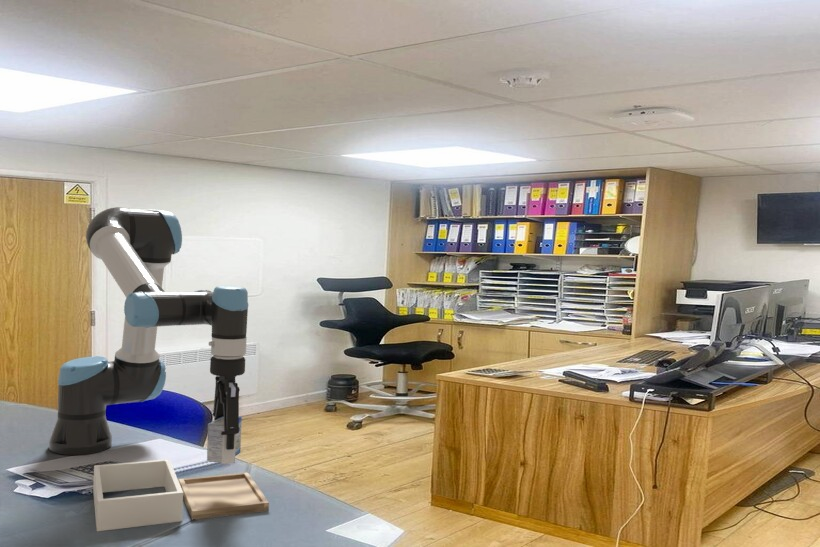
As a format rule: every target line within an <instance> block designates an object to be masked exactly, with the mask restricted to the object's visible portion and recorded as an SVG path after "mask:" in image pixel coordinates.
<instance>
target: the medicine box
mask: <svg viewBox="0 0 820 547" xmlns="http://www.w3.org/2000/svg"><path fill="white" fill-rule="evenodd" d="M242 421H243V420H242V416H241V415H240V416H239V433H237V434H236V450H235V457H236V456H238V455H239V454H241V444H242V443H241V441H242ZM232 428H233V427H232ZM221 432H224V416H222V417H220V418H218V419H216V420H214V419H213V420H212V421H211V422H209V423H208V424H207V444H206V445H207V448H206V450H207V451H206V462H211V463H218V464H219V463H220V464H222V443H223V435H221Z"/></svg>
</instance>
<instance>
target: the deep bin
mask: <svg viewBox="0 0 820 547" xmlns="http://www.w3.org/2000/svg"><path fill="white" fill-rule="evenodd" d="M92 487H93V488H92V489H93V490H92V491H93V503H94V504H93V505H94V513H95V514H94V516H95V526H96V527H95V528H96V532H103V531H111V530H120V529H129V528H137V527H145V526H152V525H153V526H154V525H160V524H161V525H162V524H163V525H164V524H168V523H169V524H171V523H177V522H178V523H179V522H182V521H183V508H184V506H183V504H184V499H183V491H182V488H181V486H180V484H179V478H178V477H177V475H176V472H175V469H174V467H173V464H172V462H171V460H170V458H168V459H167V458H165V459H156V460H145V461H142V460H141V461H132V462H122V463H121V462H120V463H107V464H98V465H93V486H92ZM160 487H161V488H162V487H164V489H165V492H158V493H147V494H140V495H128V496H119V497H118V496H117V497H110V498H104V494H103V493H111V492H122V491H131V490H133V491H134V490H143V489H152V488H160Z"/></svg>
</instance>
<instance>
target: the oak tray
mask: <svg viewBox="0 0 820 547" xmlns="http://www.w3.org/2000/svg"><path fill="white" fill-rule="evenodd" d="M178 481H179V484H180V486H181V488H182V491H183V502H184V504H185V505H186V509H187V508H188V509H187V511H188V514H189V513H190V514H189V516H190V518H191V520H192V521H194V520H193V519H196V520H202V519H203V518H204V519H210V518H211V517H212V518H219V517H220V516H221V517H227V516H226V515H229V516H235V515H236V514H237V515H245V514H251V513H252V514H253V513H261V512H268V511H270V510H269V508H270V503H269V502H270V501H268V499H267V497H266V496H265V495H264V493H263V492H262V490H261V488H259V486H258V484H257V483H256V482H255V480H254V479H253V478H252V476H251V475H250V474H249V472H237V473H228V474H219V475H218V474H216V475H206V476H205V475H204V476H196V477H187V478H186V477H185V478H184V477H183V478H178ZM218 516H219V517H218ZM204 519H203V520H204Z"/></svg>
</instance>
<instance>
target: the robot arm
mask: <svg viewBox="0 0 820 547" xmlns="http://www.w3.org/2000/svg"><path fill="white" fill-rule="evenodd" d="M85 239H86V244H87V246H88V248H89V250H90V253H92V255H93V256H94V257H95V258H97V259H99V260H101V261H102V262H103V264H104V266H105V267H106V268H107V270H108V272H109V273H110V274H111V276H112V278H113V279H114V281H115V282H116V284H117V286H118V287H119V289H120V290H121V292H122V294H123V295H124V297H125V300H124V306H123V307H124V309H123V311H124V323H123V332H122V342H121V348H119V349H117V351H115V353H114V360H113V361H108V359H107V357H105V356H98V355H97V356H85V357H79V358H75V359H71V360H69V361H67V362H64V363H63V364H62V365H61V366H60V368H59V371H58V379H57V384H58V388H57V389H58V390H57V395H58V396H57V419H56V421H55V424H54V427H53V429H52V433H51V435H50V438H49V440H48V442H49V444H48V448H49V449H48V450H49V451H51V452H52V453H54V454H59V455H67V456H68V455H71V456H74V455H75V456H78V455H89V454H94V453H98V452H103V451H106V450H107V449H109V448H110V447H112V445H113V443H112V442H113V441H112V440H113V439H112V438H113V437H112V436H113V435H112V433H111V430H110V426H109V424H108V420H107V416H106V411H107V410H106V409H107V406H111V405H119V404H127V403H128V404H131V403H143V402H145V401H149V400H154V399H156V398H158V397H159V396H160V395H161V393H162V392H163V390H164V387H165V385H166V378H167V372H166V369H167V368H166V364H165V363H164V360H163V359H162V358H160V357H161V356H160V353H158V351H157V350H156V343H157V342H156V340H157V333H158V332H157V331H158V327H171V326H194V325H195V326H196V325H198V326H199V325H209V326H211V341H209V342H208V346H209V347H210V354H211V355H212V356H211V357H210V360H209V361H210V362H209V363H210V365H209V372H210V374H211V375H213V376H215V377H214V379H215V388H214V400H213V412H212V416H213V417H214V419H213V421H214V420H216V419H218V418H220V417H222V416H224V432H221V435H223V443H222V463H221V464H222V465H228V464H235V463H236V456H235V450H236V434H237V433H239V415H240V414H239V413H240V411H239V410H240V408H239V406H240V403H239V401H240V399H239V398H240V387H239V386H238V385H239V384H238V383H237V382H236V377H237V376H242V375H244V374H245V372H246V358H245V357H244V356H246V355H247V329H248V313H249V301H248V297H249V296H248V293H249V292H248V290H247V289H246V288H245V287H243V286H235V285H234V286H233V285H220V286H216V287H215V288H214V289H213V291H211V290H208V289H205V290H203V289H200V290H194V291H165V290H164V288H163V281H164V280H163V279H164V274H165V272H164V271H165V267H166V266H167V265H169V264H170V263H172V255H176V254H178V253H179V252H180V249H181V248H182V245H183V231H182V227H181V225H180V222H179V219H178V218H177V216H176V215H175V214H174V213H173V212H171V211H167V210H162V209H154V208H133V207H131V208H130V207H128V208H127V207H120V206H119V207H118V206H116V207H110V208H107V209H104V210H102V211H100V212H99V213H97V214H96V215H95V216H94V217H93V218H92V219H91V220H90V222H89V224H88V226H87V229H86V231H85ZM232 427H233V428H232Z"/></svg>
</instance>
